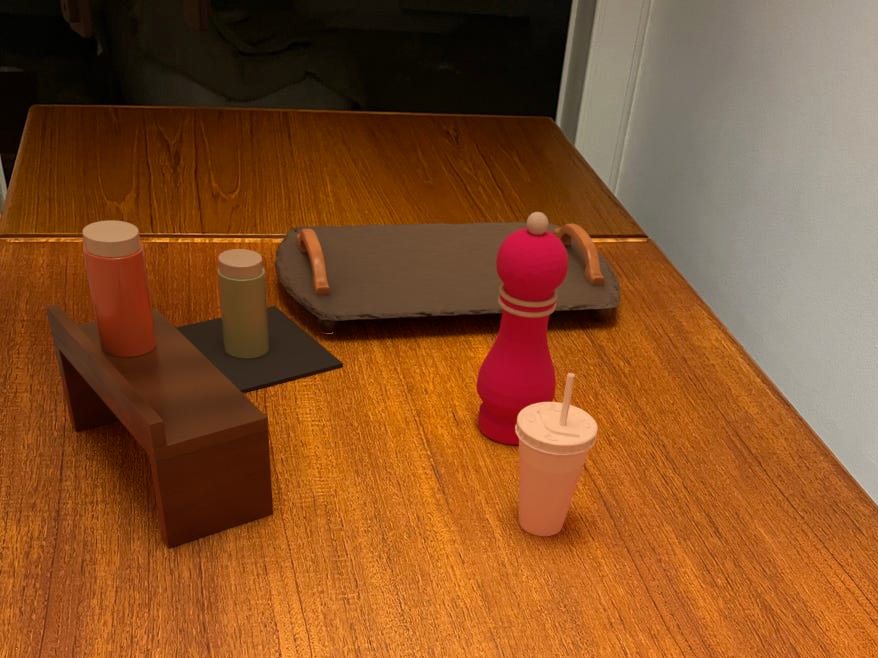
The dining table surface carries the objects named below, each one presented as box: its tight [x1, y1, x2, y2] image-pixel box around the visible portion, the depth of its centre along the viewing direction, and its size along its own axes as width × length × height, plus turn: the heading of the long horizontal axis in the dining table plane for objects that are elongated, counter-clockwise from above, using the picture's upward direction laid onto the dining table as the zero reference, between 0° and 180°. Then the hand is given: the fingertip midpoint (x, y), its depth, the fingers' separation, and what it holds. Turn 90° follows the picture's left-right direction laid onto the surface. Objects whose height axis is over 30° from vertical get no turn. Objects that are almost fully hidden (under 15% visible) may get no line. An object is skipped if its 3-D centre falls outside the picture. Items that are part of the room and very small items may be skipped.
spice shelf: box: [45, 303, 274, 549], centre depth 81 cm, size 20×9×11 cm, turn 37°
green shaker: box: [216, 248, 269, 359], centre depth 97 cm, size 4×4×9 cm
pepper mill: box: [476, 211, 568, 446], centre depth 88 cm, size 7×7×20 cm
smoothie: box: [515, 372, 599, 537], centre depth 80 cm, size 6×6×14 cm
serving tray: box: [273, 221, 622, 333], centre depth 113 cm, size 39×23×6 cm, turn 106°
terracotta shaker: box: [82, 219, 157, 357], centre depth 78 cm, size 4×4×9 cm
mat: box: [174, 305, 344, 394], centre depth 100 cm, size 14×14×1 cm
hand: (140, 30), depth 82 cm, fingers open, 9 cm apart
